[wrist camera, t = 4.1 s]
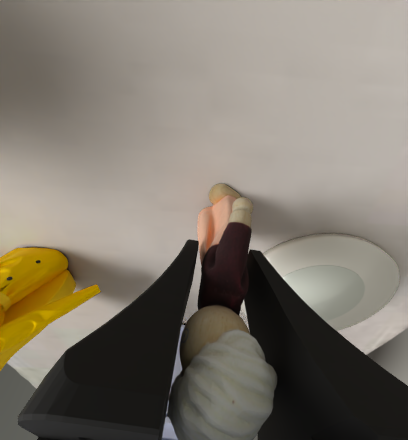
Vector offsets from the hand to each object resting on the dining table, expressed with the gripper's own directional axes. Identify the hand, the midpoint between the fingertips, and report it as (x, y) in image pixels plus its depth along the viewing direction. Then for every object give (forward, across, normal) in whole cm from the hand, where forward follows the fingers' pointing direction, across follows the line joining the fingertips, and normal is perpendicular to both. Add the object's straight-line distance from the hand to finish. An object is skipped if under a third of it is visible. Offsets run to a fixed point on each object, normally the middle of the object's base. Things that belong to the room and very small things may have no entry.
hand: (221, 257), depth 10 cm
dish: (+6, -12, +8) cm, 15 cm away
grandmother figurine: (+6, 0, 0) cm, 6 cm away
